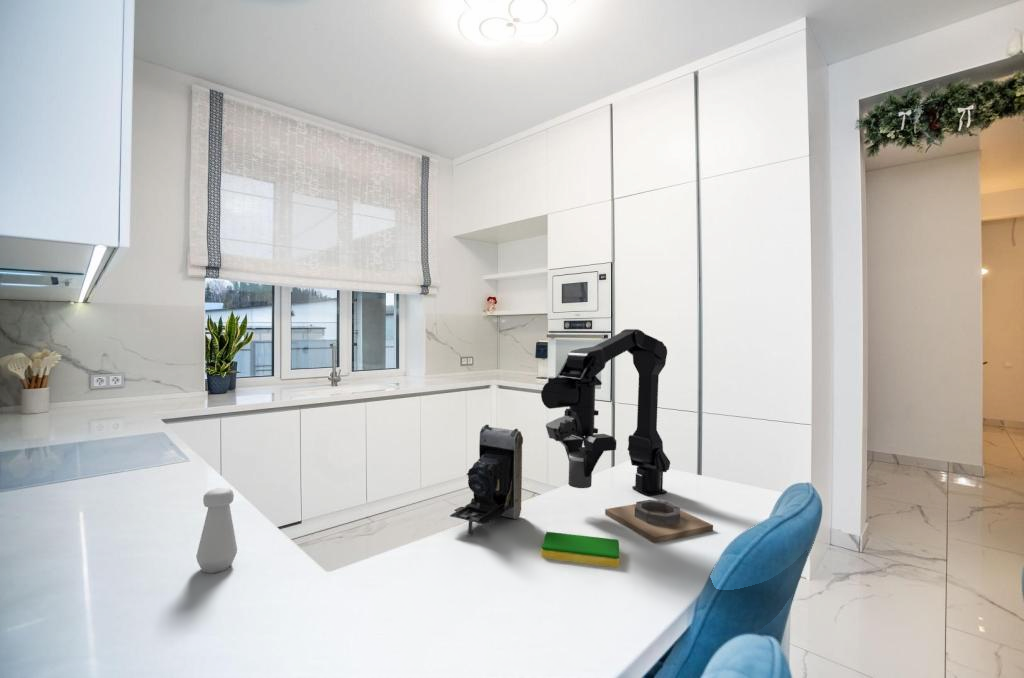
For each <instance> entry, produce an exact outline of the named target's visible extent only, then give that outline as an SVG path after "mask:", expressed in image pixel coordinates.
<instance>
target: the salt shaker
mask: <svg viewBox="0 0 1024 678" xmlns="http://www.w3.org/2000/svg"><path fill="white" fill-rule="evenodd" d="M234 495H235V494H234V491H233V490H232V489H231V488H229V487H219V488H213V489H210V490H208V491H207V492H206V493H205V494H204V495H203V499H202V502H203V506H204V507H205V508H207V511H206V515H205V518H204V519H205V520H204V524H203V528H202V531H201V536H200V539H199V544H198V548H197V551H196V552H197V553H196V556H195V557H196V562H197V563H198V564H197V565H198V566H199V567H200V569H201V571H202V573H205V572H207V573H206V574H212V573H213V574H215V572H217V573H220V572H223V571H226V570H227V569H228V568H229V566H230V565H231V566H232V565H233V563H234V560H235V558H236V556H237V554H238V547H237V546H238V545H237V541H236V534H235V529H234V522H233V517H232V510H231V506H230V505H231V504H232V503H233V501H234ZM231 566H230V567H231ZM219 571H220V572H219Z"/></svg>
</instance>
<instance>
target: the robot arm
mask: <svg viewBox="0 0 1024 678" xmlns="http://www.w3.org/2000/svg"><path fill="white" fill-rule="evenodd" d="M625 352H628V353H630V354H629V355H631V356H632V362H633V365H634V368H635V369H636V371H637V373H638V388H637V389H638V390H637V412H636V413H637V415H636V418H637V419H636V420H637V421H636V429H635V431H634V432H633V434H629V436H628V439H627V441H628V445H627V451H628V455H629V458H630V462H631V466H635V467H636V473H635V485H632V487H631V488H632V490H635V491H637V492H639V493H641V494H644V495H646V496H656V495H661V494H667V493H668V491H667V490H665V489H664V488H663V483H664V473H667V471H669V470H670V465H671V461H670V459H669V458H668V456H667V455H666V453H665V452H664V444H663V440H662V437H661V436H660V434H659V432H658V430H657V428H658V427H657V426H658V424H657V423H658V405H659V404H658V403H659V402H658V400H659V376H660V374H661V372H662V370H663V369H664V368H665V366H666V362H667V356H668V348H667V346H666V345H665V344H664V342H663V341H661V340H659V339H657V338H655V337H654V336H653V337H652V336H650V335H649V334H646V333H644V331H642V330H640V329H637V328H632V329H631V328H629V329H628V328H626V329H625V328H624V330H621V332H619V333H617V334H615V335H613V336H611V337H610V338H607V339H606V340H603V341H601V342H600V343H598V344H596V345H594V346H588V347H582V348H577V349H572V350H571V351H570V352H568V354H567V358H566V359H565V361H564V363H563V365H562V367H561V368H560V370H559V372H558V374H557V375H556V376H548V378H547V379H548V380H547V382H546V383H545V384H544V385H543V387H542V388H541V392H540V396H541V401H542V403H543V405H544V406H545V408H548V409H551V410H552V409H559V408H565V410H564V415H563V416H561V417H558V418H555V419H554V420H551V421H550V422H547V423H545V428H546V431H547V432H546V433H547V434H548V438H549V439H553V440H554V441H556V442H559V443H561V445H563V447H564V449H565V453H566V456H567V458H568V461H569V453H570V452H574V451H581V452H582V453H583V460H584V474H585V477H590V475H591V473H592V474H593V471H594V469H595V467H596V465H597V464H598V463H599V459H600V458H601V456H602V455H603V453H605V452H609V451H610V452H611V451H616V450H617V440H616V439H615V437H614V436H612V435H609V434H605V433H599V428H597V427H595V416H599V410H597V409H596V407H595V406H596V405H595V404H596V386H601V385H603V384H602V381H601V380H600V379H599V378H598V377H597V375H598V374H599V373H600V372H602V371H604V369H605V367H606V364H607V363H608V362H609V361H611V360H613V359H614V358H616V357H618V356H620V355H621V354H624V353H625Z"/></svg>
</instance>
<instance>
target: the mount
mask: <svg viewBox="0 0 1024 678" xmlns="http://www.w3.org/2000/svg"><path fill="white" fill-rule="evenodd" d="M604 511H605V512H604V514H605V516H607V517H609V518H611V519H612V520H614V521H616V522H617V523H619V524H621V525H623V526H624V527H626V528H628V529H629V530H631V531H633V532H635V533H636V534H638V535H640V536H641V537H643V538H645V539H647V540H648V541H650V542H652V543H653V544H658V543H662V542H667V541H671V540H675V539H681V538H686V537H690V536H694V535H699V534H704V533H709V532H713V531H714V524H712V523H710V522H707V521H705V520H703V519H701V518H699V517H697V516H694V515H692V514H690V513H688V512H685V511H684V510H681V508H680V507H679V506H676V505H674V504H672V503H670V502H668V501H663V500H660V499H656V500H653V499H647V500H640V501H636V502H635V503H634V504H627V505H621V506H615V507H610V508H605V509H604Z"/></svg>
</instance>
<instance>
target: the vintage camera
mask: <svg viewBox="0 0 1024 678" xmlns="http://www.w3.org/2000/svg"><path fill="white" fill-rule="evenodd" d="M523 444H524V437H523V436H522V431H520V430H519V429H518V428H514V429H507V428H502V427H491V426H490V425H489V424H484V426H482V427H481V429H480V432H479V444H478V446H479V447H478V448H479V449H478V450H479V451H478V452H479V453H478V454H479V455H478V456H479V458H478V460H477V461H476V462H474V463H473V464H472V467H470V468H469V469H468V472H467V473H466V475H467V478H468V480H467V484H468V487H469V489H470V490H471V491H472V493H473V498H471V501H470V503H468V504H466V505H465V506H460V507H456V508H455V509H454V512H453V513H451V514H450V515H449V517H451V518H456V519H461V520H464V521H468V529H467V530H468V531H467V535H468V536H472V535H473V524H474V523H475V524H476V523H477V524H479V525H480V524H481V525H484V526H485V525H486V524H488V523H490V522H491V521H493V520H495V519H496V518H498V517H500V516H501V517H504V518H505V517H506V518H508V519H509V518H510V519H513V520H515V519H516V520H517V519H519V518H520V516H521V513H522V490H523V489H522V486H523V484H522V483H523V479H522V478H523ZM466 475H465V476H466Z"/></svg>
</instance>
